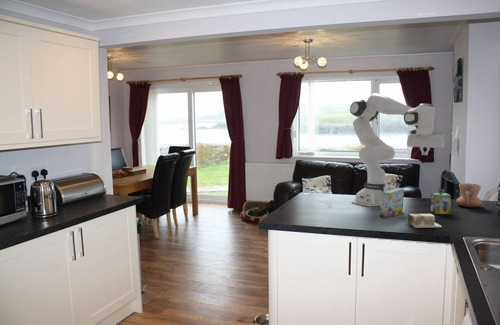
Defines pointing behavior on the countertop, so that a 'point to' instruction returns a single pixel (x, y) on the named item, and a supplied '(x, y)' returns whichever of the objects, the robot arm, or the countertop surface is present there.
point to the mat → (427, 225)
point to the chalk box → (440, 203)
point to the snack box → (391, 202)
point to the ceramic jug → (469, 195)
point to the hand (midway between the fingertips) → (424, 154)
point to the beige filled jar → (421, 219)
